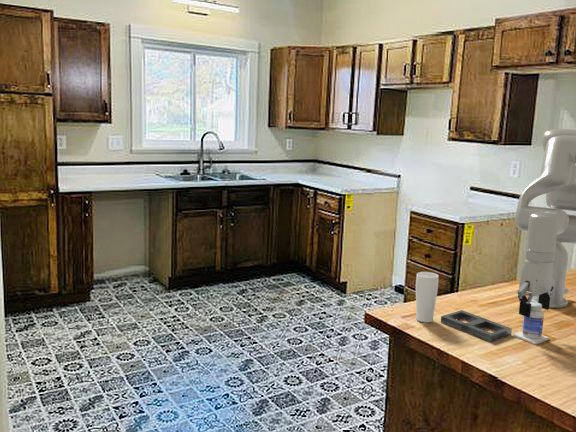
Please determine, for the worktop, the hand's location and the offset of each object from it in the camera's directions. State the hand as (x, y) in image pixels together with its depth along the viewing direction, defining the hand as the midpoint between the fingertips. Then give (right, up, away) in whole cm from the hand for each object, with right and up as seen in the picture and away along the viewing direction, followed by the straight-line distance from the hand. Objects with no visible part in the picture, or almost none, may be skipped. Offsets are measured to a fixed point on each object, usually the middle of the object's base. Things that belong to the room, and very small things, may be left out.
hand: (534, 311), depth 158 cm
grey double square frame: (-15, -6, +7) cm, 18 cm away
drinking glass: (-29, -5, +13) cm, 32 cm away
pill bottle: (0, -7, +1) cm, 7 cm away
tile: (0, -8, +1) cm, 8 cm away
